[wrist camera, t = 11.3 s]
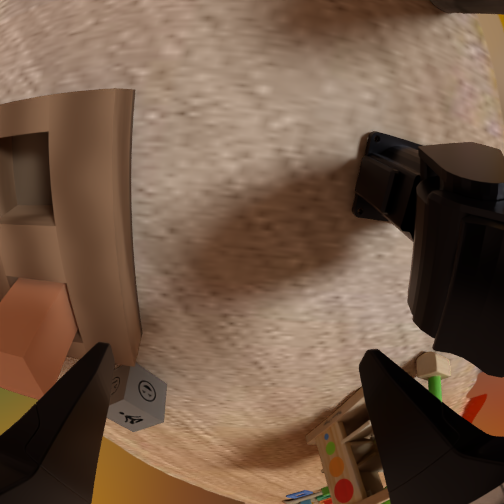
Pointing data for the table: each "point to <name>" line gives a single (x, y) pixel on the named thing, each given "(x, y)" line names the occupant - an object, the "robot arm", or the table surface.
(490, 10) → the beverage cup
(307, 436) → the pounding bench toy
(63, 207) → the socket block
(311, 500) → the shape sorter
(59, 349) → the pin
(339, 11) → the table surface
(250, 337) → the table surface
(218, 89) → the table surface
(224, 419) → the table surface
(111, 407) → the dice cube
